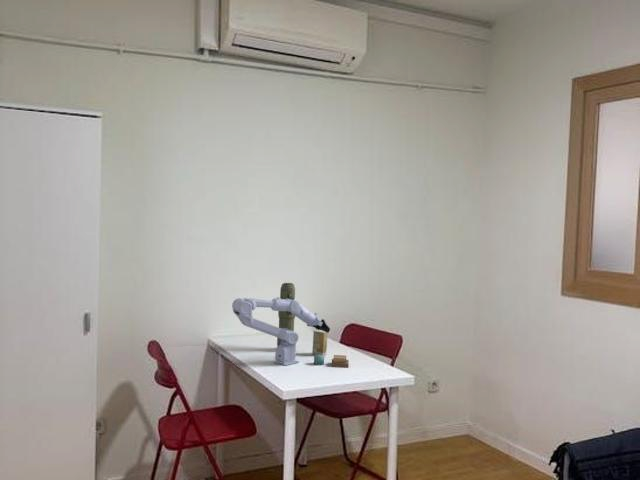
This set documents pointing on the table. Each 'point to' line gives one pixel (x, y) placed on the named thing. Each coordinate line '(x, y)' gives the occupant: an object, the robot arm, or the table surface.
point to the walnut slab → (340, 364)
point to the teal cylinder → (318, 359)
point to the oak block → (340, 358)
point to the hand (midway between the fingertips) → (325, 329)
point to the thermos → (285, 316)
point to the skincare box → (319, 342)
